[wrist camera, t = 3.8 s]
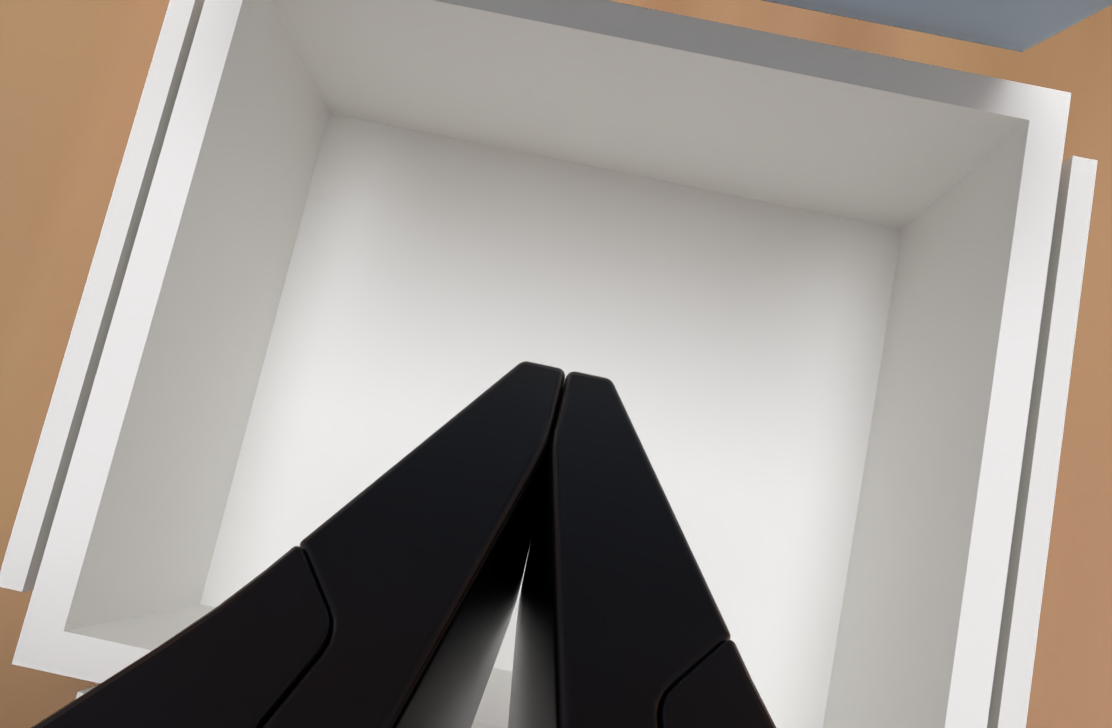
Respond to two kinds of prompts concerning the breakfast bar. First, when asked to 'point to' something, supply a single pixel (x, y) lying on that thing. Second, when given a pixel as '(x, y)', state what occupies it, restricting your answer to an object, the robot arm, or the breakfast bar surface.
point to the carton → (580, 325)
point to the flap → (967, 17)
